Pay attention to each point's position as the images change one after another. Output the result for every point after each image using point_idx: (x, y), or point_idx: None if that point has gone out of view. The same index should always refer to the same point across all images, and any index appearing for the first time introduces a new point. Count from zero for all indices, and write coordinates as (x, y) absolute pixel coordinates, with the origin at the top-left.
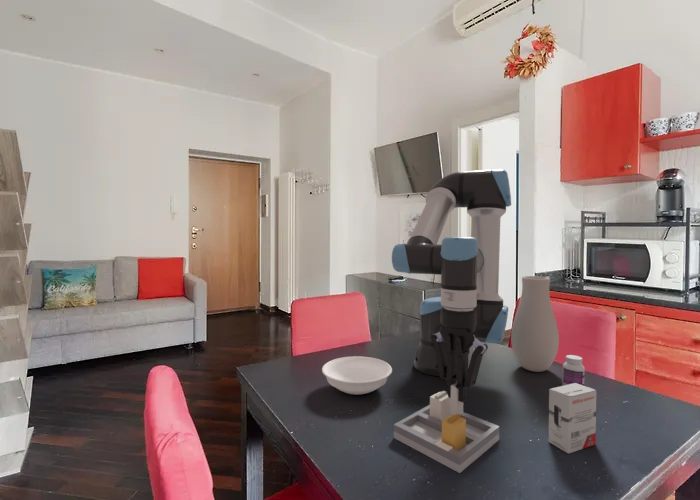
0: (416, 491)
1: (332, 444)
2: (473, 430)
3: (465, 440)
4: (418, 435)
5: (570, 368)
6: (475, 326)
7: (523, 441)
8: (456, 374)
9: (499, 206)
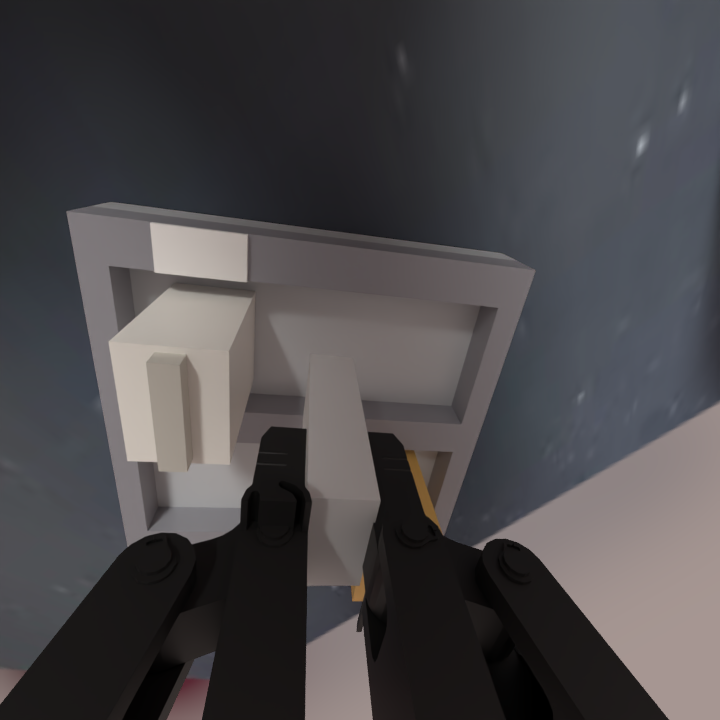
0: (361, 604)
1: (51, 626)
2: (401, 320)
3: (416, 458)
4: None
5: None
6: None
7: (607, 185)
8: (304, 616)
9: None
